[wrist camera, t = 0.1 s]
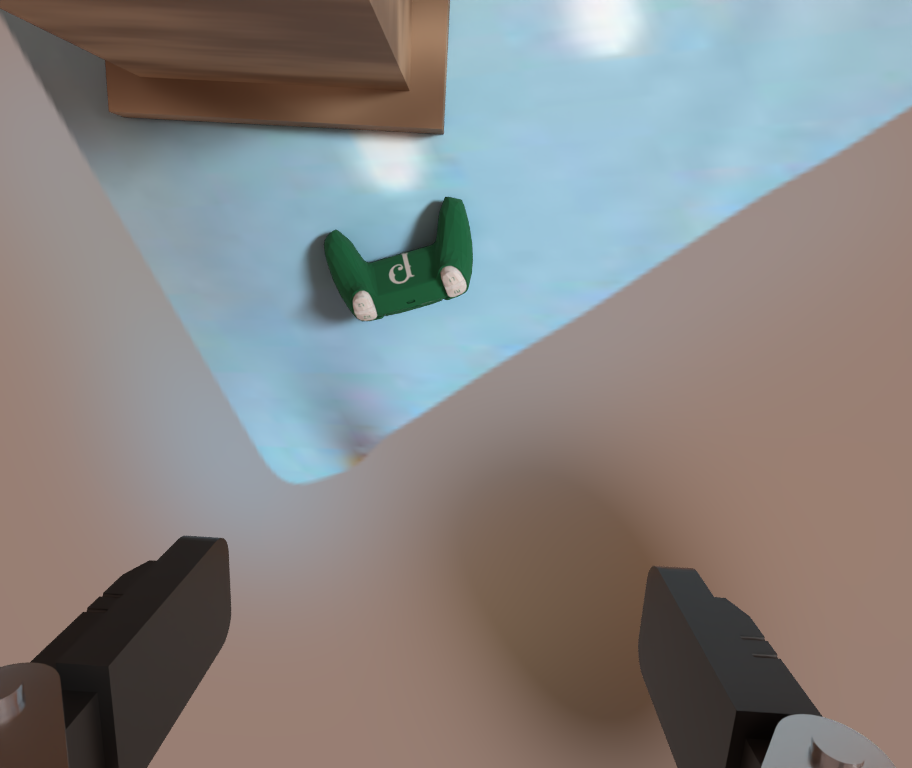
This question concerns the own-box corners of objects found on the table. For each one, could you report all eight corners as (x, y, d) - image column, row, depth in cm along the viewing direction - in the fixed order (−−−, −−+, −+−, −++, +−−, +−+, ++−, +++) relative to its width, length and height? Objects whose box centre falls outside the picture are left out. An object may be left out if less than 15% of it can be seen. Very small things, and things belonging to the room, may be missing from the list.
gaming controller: (341, 268, 41) (348, 337, 38) (319, 229, 38) (324, 300, 34) (471, 230, 40) (488, 298, 37) (459, 187, 37) (477, 256, 34)
